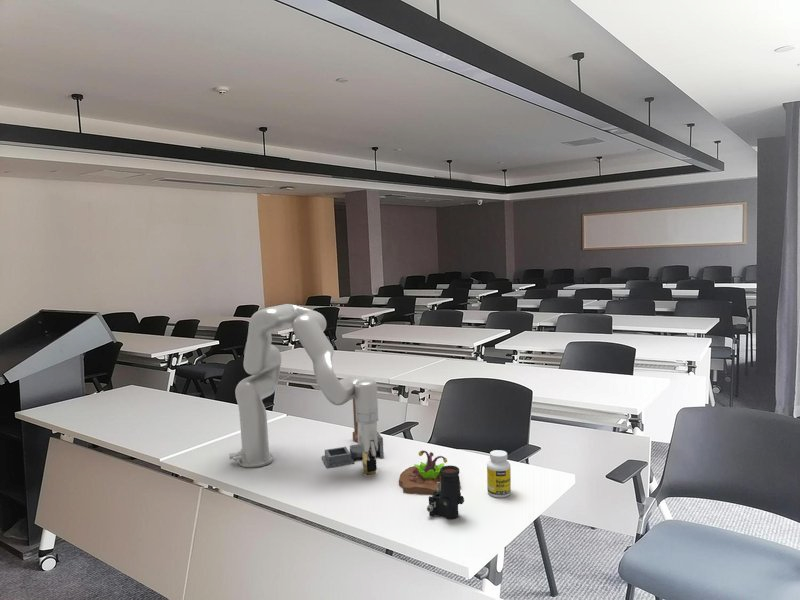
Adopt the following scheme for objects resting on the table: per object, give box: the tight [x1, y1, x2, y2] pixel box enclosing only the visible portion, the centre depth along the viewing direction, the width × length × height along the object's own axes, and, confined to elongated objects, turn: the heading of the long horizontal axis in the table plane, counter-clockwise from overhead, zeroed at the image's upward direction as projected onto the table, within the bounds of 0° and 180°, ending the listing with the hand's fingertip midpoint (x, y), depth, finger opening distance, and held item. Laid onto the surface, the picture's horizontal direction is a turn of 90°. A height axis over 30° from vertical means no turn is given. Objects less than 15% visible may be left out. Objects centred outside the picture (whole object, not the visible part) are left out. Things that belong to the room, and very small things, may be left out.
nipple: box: [361, 449, 378, 477], centre depth 196 cm, size 5×5×8 cm
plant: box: [398, 450, 461, 496], centre depth 187 cm, size 20×20×11 cm
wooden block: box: [352, 398, 378, 443], centre depth 226 cm, size 4×11×18 cm, turn 46°
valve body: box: [321, 431, 385, 469], centre depth 210 cm, size 21×10×8 cm, turn 108°
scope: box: [426, 465, 465, 520], centre depth 164 cm, size 8×14×10 cm
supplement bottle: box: [486, 449, 512, 498], centre depth 176 cm, size 7×7×13 cm
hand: (369, 467), depth 196 cm, fingers closed on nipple, 4 cm apart
